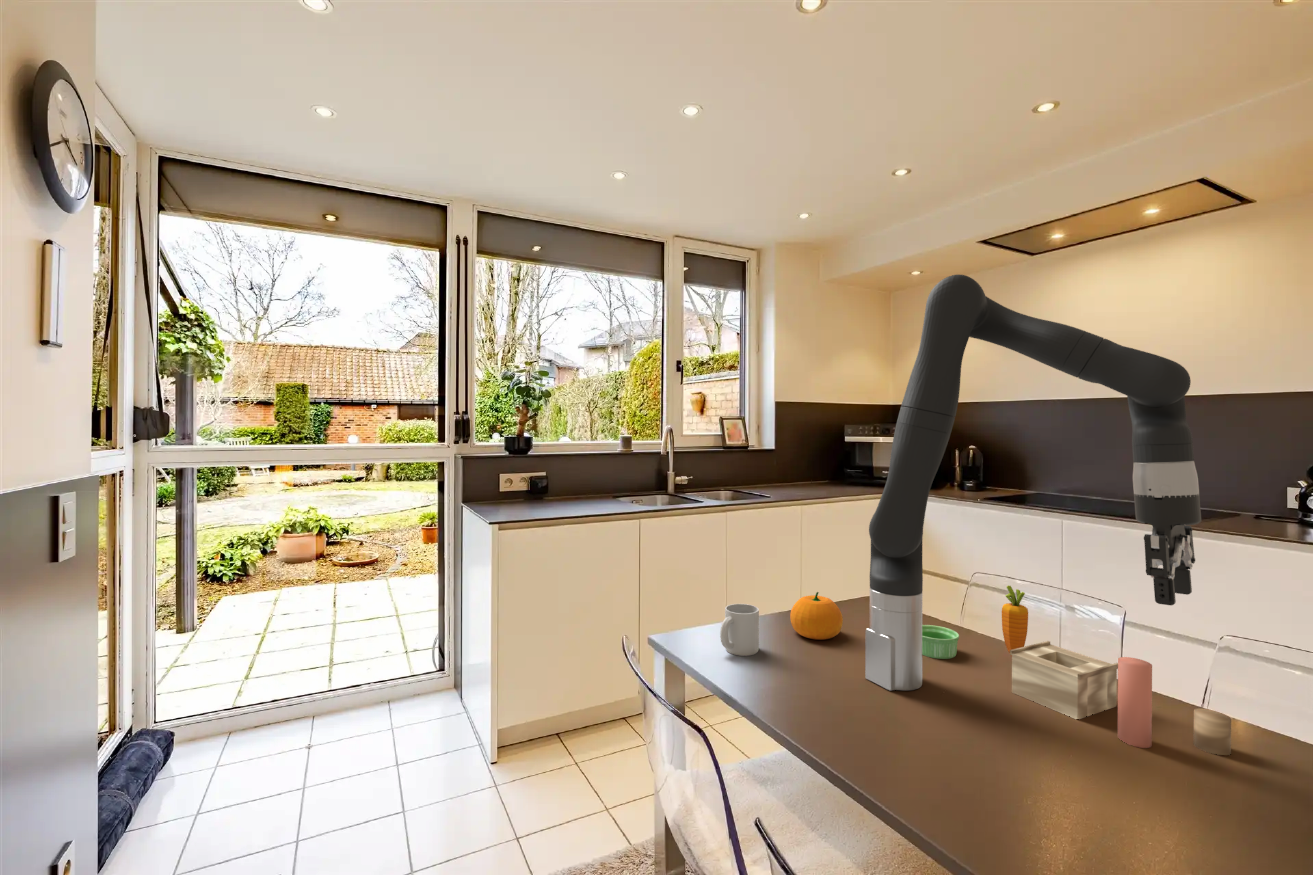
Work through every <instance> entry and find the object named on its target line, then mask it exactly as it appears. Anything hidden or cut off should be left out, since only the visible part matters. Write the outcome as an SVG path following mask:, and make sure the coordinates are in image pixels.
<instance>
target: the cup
mask: <svg viewBox="0 0 1313 875" xmlns="http://www.w3.org/2000/svg"><path fill="white" fill-rule="evenodd" d="M719 635H720V636H719V637H720V643H721V645H722V646H723V647H724V648H725V650H726V652H727V653H729V654H731V655H733V656H734V655H735V656H740V657H741V656H742V657H745V656H747V657H748V656H753V655H754V656H755V655H756V654H757V653H758V652H759V649H760V648H759V647H760V609H759V607H757V606H755V605H753V604H747V603H732V604H728V605H726V606H725V608H724V619H723V621H722V623H721V626H720V632H719Z"/></svg>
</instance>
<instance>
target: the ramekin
mask: <svg viewBox="0 0 1313 875" xmlns="http://www.w3.org/2000/svg"><path fill="white" fill-rule="evenodd" d="M959 639H960V634H959V633H958V632H957V631H955V630H954V629H951V628H948V627H944V626H939V625H932V624H931V625H930V624H922V656H925V657H927V658H931V659H938V660H939V659H941V660H949V659H953V658H955V657H956V655H957V652H958V641H959Z"/></svg>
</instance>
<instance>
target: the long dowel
mask: <svg viewBox="0 0 1313 875" xmlns="http://www.w3.org/2000/svg"><path fill="white" fill-rule="evenodd" d="M1117 663H1118V669H1117V739H1118V738H1119V739H1120V740H1119V739H1118V740H1119V741H1121V740H1122V741H1123V742H1122V741H1121V742H1122V743H1124V742H1125V743H1124V744H1126V743H1127V744H1126V745H1129V746H1131V745H1133V746H1132V747H1135V748H1140V749H1148V748H1152V741H1153V740H1152V738H1153V737H1152V735H1153V734H1152V733H1153V732H1152V731H1153V730H1152V729H1153V728H1152V727H1153V725H1152V724H1153V722H1152V721H1153V664H1152V663H1150V662H1149V661H1146V660H1143V659H1140V658H1135V657H1129V656H1128V657H1127V656H1120V657H1118V659H1117Z"/></svg>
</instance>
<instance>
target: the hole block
mask: <svg viewBox="0 0 1313 875" xmlns="http://www.w3.org/2000/svg"><path fill="white" fill-rule="evenodd" d="M1010 655H1012V657H1011V693H1012V694H1014V695H1017V696H1020V697H1022V698H1024V699H1027V700H1029V701H1031V702H1033V701H1034V703H1036V704H1039V705H1041V706H1043V707H1045V706H1046V708H1048V709H1050V710H1053V711H1055V712H1058V713H1059V714H1062V715H1064V714H1065V716H1067V717H1069V716H1070V717H1069V718H1072V719H1075V720H1076V719H1079V720H1082V719H1084V718H1087V717H1090V716H1092V714H1093V715H1096V714H1100V713H1101V712H1104V710H1105V711H1107V710H1110V709H1113V708H1116V707H1118V662H1114V663H1111V662H1110V663H1109V662H1107V661H1103V660H1100V659H1098V658H1095V657H1091V656H1088V655H1085V654H1082V653H1079V652H1076V651H1072V650H1070V649H1066V648H1063V647H1059V646H1056V645H1054V644H1051V641H1050V640H1047V641H1042V642H1039V643H1034V644H1031V645H1030V644H1029V645H1026V646H1025V645H1024V647H1021V648H1017V649H1013V650H1010V654H1009V656H1010ZM1086 716H1087V717H1086Z"/></svg>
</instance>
